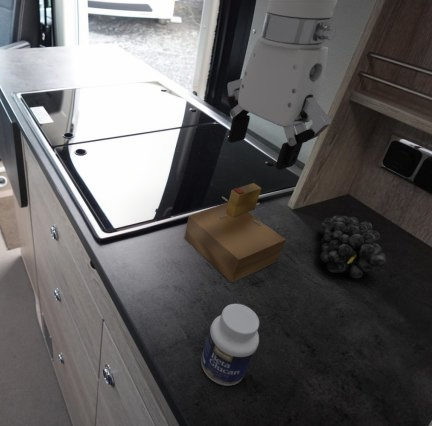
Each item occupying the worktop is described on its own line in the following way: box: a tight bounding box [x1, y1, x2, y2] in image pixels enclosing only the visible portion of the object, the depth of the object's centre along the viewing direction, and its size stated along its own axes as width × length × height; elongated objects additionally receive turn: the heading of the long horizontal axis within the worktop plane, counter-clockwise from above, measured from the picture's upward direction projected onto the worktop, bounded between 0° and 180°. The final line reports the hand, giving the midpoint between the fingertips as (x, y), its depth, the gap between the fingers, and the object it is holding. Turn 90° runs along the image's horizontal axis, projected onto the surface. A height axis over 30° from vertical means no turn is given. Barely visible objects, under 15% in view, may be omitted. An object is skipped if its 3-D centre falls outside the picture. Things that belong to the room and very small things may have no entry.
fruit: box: [319, 215, 387, 279], centre depth 61 cm, size 9×8×15 cm
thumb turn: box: [226, 182, 262, 217], centre depth 63 cm, size 5×2×5 cm, turn 118°
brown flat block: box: [183, 196, 286, 284], centre depth 64 cm, size 14×14×5 cm
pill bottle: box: [200, 303, 260, 387], centre depth 44 cm, size 5×5×10 cm
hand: (258, 153), depth 57 cm, fingers open, 9 cm apart
